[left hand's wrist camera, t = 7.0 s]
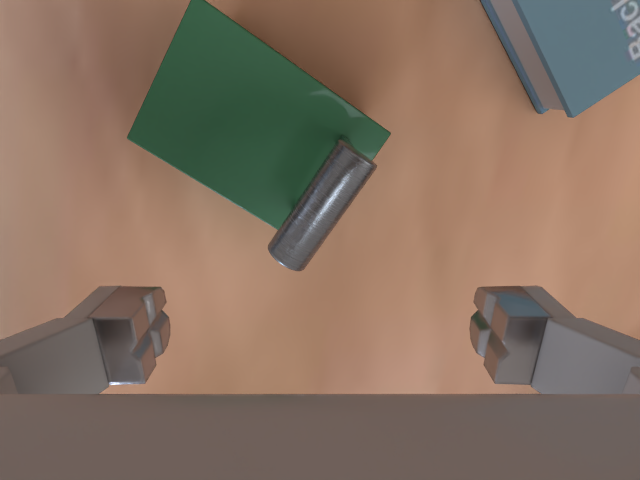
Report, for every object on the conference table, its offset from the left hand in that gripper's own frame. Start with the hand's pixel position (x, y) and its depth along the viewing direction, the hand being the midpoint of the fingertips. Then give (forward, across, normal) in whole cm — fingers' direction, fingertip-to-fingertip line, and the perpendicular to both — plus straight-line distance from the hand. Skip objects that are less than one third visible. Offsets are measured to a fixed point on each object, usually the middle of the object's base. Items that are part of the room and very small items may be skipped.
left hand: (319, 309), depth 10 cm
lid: (+17, +4, -3) cm, 18 cm away
